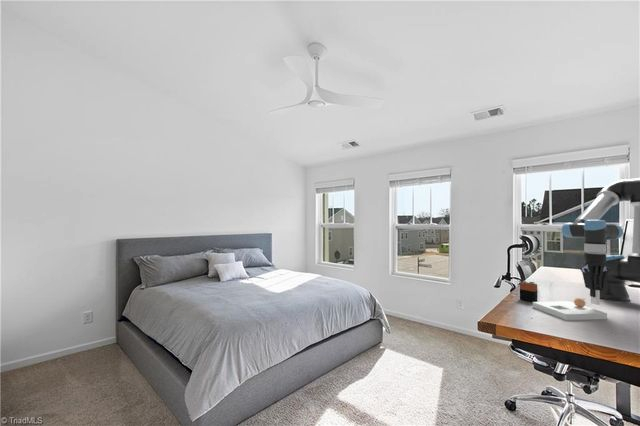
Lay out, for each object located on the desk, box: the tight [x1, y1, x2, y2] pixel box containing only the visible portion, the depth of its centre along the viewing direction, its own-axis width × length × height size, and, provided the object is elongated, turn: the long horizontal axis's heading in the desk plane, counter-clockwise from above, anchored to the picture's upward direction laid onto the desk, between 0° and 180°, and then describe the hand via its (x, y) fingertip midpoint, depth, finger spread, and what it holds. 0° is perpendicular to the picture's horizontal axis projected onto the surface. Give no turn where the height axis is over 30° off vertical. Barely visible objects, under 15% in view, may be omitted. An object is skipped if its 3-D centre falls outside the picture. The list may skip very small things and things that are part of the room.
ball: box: [573, 297, 586, 307], centre depth 136 cm, size 4×4×4 cm
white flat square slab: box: [532, 300, 608, 321], centre depth 136 cm, size 19×18×2 cm
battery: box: [519, 280, 538, 303], centre depth 156 cm, size 4×7×10 cm, turn 35°
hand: (595, 303), depth 137 cm, fingers closed
